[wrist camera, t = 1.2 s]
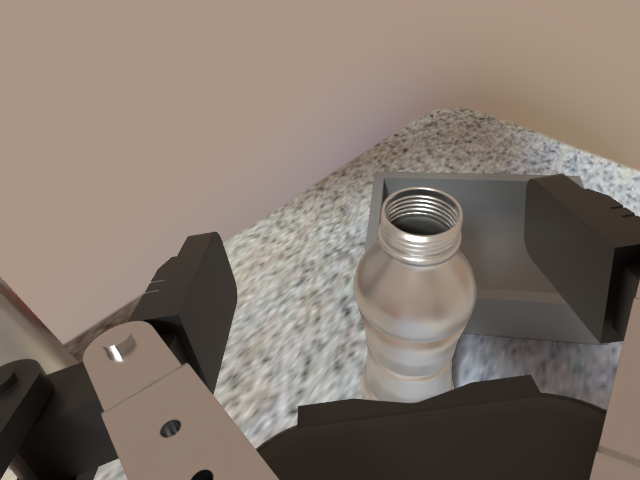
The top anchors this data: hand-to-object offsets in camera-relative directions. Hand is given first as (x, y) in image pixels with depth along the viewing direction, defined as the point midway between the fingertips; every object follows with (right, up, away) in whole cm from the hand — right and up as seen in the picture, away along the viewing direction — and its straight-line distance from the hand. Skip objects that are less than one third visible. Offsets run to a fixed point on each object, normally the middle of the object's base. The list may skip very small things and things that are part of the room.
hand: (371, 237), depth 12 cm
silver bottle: (+5, -13, +23) cm, 27 cm away
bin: (+14, -3, +32) cm, 35 cm away
